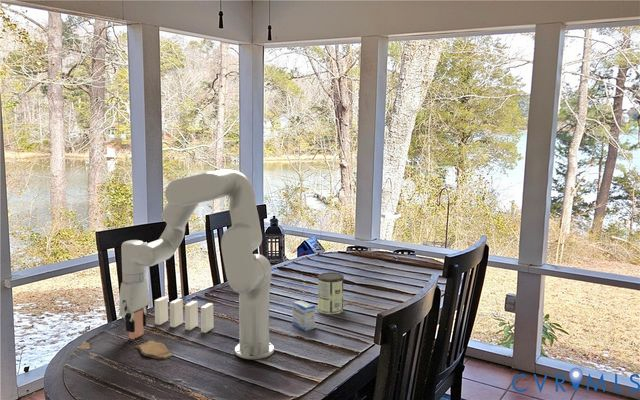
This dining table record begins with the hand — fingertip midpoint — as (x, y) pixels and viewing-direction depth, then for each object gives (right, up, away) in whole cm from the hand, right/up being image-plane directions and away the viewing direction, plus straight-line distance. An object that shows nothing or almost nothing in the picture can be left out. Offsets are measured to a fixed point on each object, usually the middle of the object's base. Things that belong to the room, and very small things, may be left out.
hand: (136, 328), depth 175 cm
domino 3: (+23, -2, +7) cm, 24 cm away
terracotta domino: (0, -3, 0) cm, 3 cm away
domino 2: (+17, -2, +9) cm, 19 cm away
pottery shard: (+10, -5, -12) cm, 16 cm away
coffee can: (+67, 0, +29) cm, 73 cm away
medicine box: (+57, -3, +11) cm, 58 cm away
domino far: (+5, -1, +14) cm, 15 cm away
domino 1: (+11, -2, +11) cm, 16 cm away
